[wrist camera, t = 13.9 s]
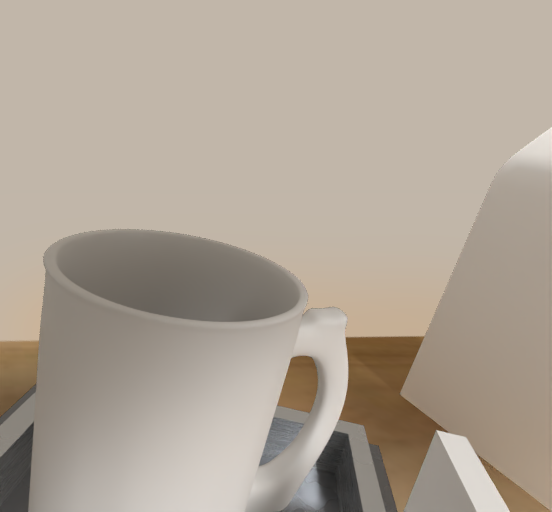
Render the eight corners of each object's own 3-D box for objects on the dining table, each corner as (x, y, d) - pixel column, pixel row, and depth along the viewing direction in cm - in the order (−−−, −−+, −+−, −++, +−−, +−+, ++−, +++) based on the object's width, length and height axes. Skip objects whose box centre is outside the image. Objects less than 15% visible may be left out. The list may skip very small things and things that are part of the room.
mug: (-13, 768, 10) (24, 319, 7) (25, 521, 16) (54, 217, 13) (335, 640, 14) (454, 331, 11) (265, 483, 20) (330, 251, 17)
